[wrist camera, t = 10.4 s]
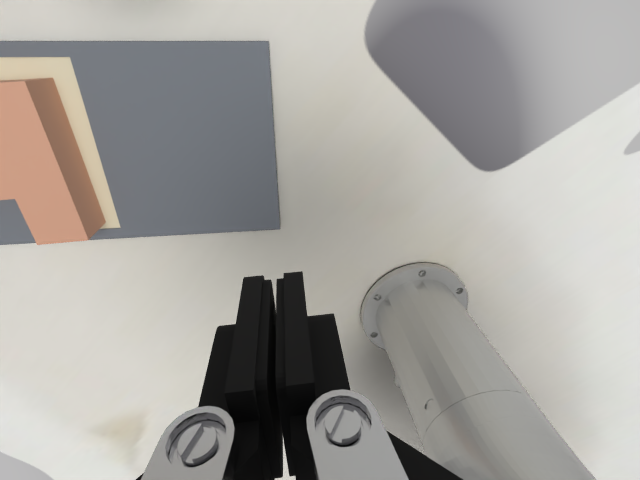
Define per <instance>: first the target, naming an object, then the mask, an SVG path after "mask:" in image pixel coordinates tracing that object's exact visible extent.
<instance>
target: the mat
mask: <svg viewBox="0 0 640 480" xmlns="http://www.w3.org/2000/svg"><path fill="white" fill-rule="evenodd" d="M37 78H53V79H54V82H55V85H56V87H57V90H58V93H59V95H60V98H61V101H62V104H63V106H64V109H65V112H66V115H67V117H68V120H69V123H70V125H71V128H72V131H73V134H74V136H75V139H76V142H77V145H78V147H79V150H80V153H81V155H82V158H83V161H84V164H85V166H86V169H87V172H88V175H89V177H90V180H91V183H92V185H93V188H94V191H95V194H96V196H97V199H98V202H99V205H100V207H101V210H102V213H103V215H104V218H105V221H106V223H105V224H104V225H103V226H102V227H101V228H100V229H99V230H98V231H97V232H96V233H95V234H94V235H93V236H92V237H91V238H90V239H89V240H96V239H114V238H132V237H150V236H168V235H186V234H204V233H222V232H240V231H258V230H276V229H280V220H279V204H278V188H277V172H276V156H275V140H274V124H273V108H272V91H271V75H270V59H269V43H268V41H0V80H19V79H37ZM25 243H36V241H35V239H34V237H33V235H32V233H31V231H30V229H29V227H28V225H27V223H26V221H25V219H24V217H23V214H22V212H21V210H20V208H19V206H18V204H17V202H16V200H15V199H8V200H0V245H7V244H25Z"/></svg>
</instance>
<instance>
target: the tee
mask: <svg viewBox="0 0 640 480" xmlns="http://www.w3.org/2000/svg"><path fill="white" fill-rule="evenodd" d="M8 199H15V200H16V202H17V204H18V206H19V208H20V210H21V212H22V214H23V217H24V219H25V221H26V223H27V225H28V227H29V229H30V231H31V233H32V235H33V237H34V239H35V241H36V243H37V245H41V244H52V243H63V242H73V241H84V240H89V239H90V238H91V237H92V236H93V235H94V234H95V233H96V232H97V231H98V230H99V229H100V228H101V227H102V226H103V225H104V224H105V223H106V221H105V218H104V215H103V213H102V210H101V207H100V205H99V202H98V199H97V196H96V194H95V191H94V188H93V185H92V183H91V180H90V177H89V175H88V172H87V169H86V166H85V164H84V161H83V158H82V155H81V153H80V150H79V147H78V145H77V142H76V139H75V136H74V134H73V131H72V128H71V125H70V123H69V120H68V117H67V115H66V112H65V109H64V106H63V104H62V101H61V98H60V95H59V93H58V90H57V87H56V85H55V82H54V79H53V78H37V79H19V80H0V200H8Z"/></svg>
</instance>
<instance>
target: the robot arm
mask: <svg viewBox="0 0 640 480" xmlns="http://www.w3.org/2000/svg"><path fill="white" fill-rule="evenodd" d="M467 306H468V294H467V290H466V288H465V285H464V284H463V283H462V281H461V280H460V278H459V277H458V276H457V275H456V274H455V273H454V272H453V271H451V270H449V269H448V268H446V267H443V266H441V265H438V264H432V263H416V264H411V265H406V266H403V267H401V268H398V269H396V270H394V271H392V272H390V273H388V274H386V275H385V276H384V277H382V278H381V279H380V280H379V281H377V283H376V284H375V285H374V286H373V287H372V288H371V289H370V291H369V292H368V294H367V295H366V297H365V299H364V302H363V304H362V309H361V322H362V325H363V328H364V331H365V333H366V335H367V337H368V338H369V339H370V340H371V342H373V343H374V344H375V345H377V346H378V347H380V348H382V349H384V350H386V351H387V354H388V356H389V359H390V361H391V364H392V367H393V369H394V372H395V377H394V383H395V385H396V386H397V387H399V388H401V390H402V393H403V395H404V398H405V401H406V403H407V406H408V408H409V411H410V414H411V416H412V419H413V421H414V424H415V427H416V429H417V432H418V434H419V437H420V440H421V442H422V445H423V447H424V451H425V453H426V456H425V455H424V454H422V453H421V452H419V451H418V450H416V449H414V448H413V447H411V446H410V445H408V444H407V443H405V442H403V441H402V440H400V439H399V438H397V437H396V436H394V435H392V434H391V433H389V432H388V431H386V429H385V427H384V425H383V423H382V420H381V418H380V416H379V414H378V412H377V410H376V408H375V407H374V405H373V404H372V402H371V401H370V400H368V399H367V398H366V397H365V396H364V395H362V394H360V393H357V392H355V391H351V390H350V386H349V382H348V377H347V372H346V368H345V363H344V358H343V354H342V349H341V344H340V340H339V335H338V331H337V326H336V321H335V317H334V314H325V315H316V316H307V310H306V301H305V292H304V282H303V273H302V272H292V273H284V278H282V279H277V295H276V310H275V302H274V295H273V288H272V282H271V280H264V276H263V275H262V276H253V277H244V279H243V284H242V290H241V296H240V302H239V308H238V314H237V320H236V324H233V325H224V326H219V327H218V328H217V330H216V334H215V338H214V342H213V346H212V351H211V355H210V359H209V363H208V368H207V372H206V376H205V380H204V385H203V389H202V393H201V397H200V402H199V406H198V407H197V408H195V409H192V410H189V411H187V412H185V413H184V414H182V415H181V416H179V417H177V418H176V419H175V420H174V421H173V422H172V423H171V424H170V425H169V426H168V427H167V428H166V430H165V431H164V433H163V435H162V436H161V438H160V440H159V442H158V444H157V446H156V448H155V450H154V452H153V455H152V457H151V459H150V461H149V463H148V465H147V467H146V469H145V472H144V473H143V474H142V475H141V476H140V477H138V478H137V479H136V480H274V478H281V477H283V438H284V444H285V451H286V457H287V463H288V469H289V475H290V476H296V480H596V479H595V477H594V476H593V475H592V474H591V473H590V472H589V471H588V469H587V468H586V467H585V466H584V465H583V463H582V462H581V461H580V460H579V458H578V457H577V456H576V455H575V453H574V452H573V451H572V450H571V448H570V447H569V446H568V444H567V443H566V442H565V441H564V439H563V438H562V437H561V436H560V434H559V433H558V432H557V431H556V429H555V428H554V427H553V426H552V424H551V423H550V422H549V420H548V419H547V418H546V416H545V415H544V414H543V412H542V411H541V410H540V408H539V407H538V406H537V404H536V403H535V402H534V400H533V399H532V398H531V396H530V395H529V394H528V392H527V391H526V390H525V388H524V387H523V386H522V384H521V383H520V382H519V380H518V379H517V378H516V376H515V375H514V374H513V372H512V371H511V370H510V368H509V367H508V366H507V364H506V363H505V362H504V360H503V359H502V358H501V356H500V355H499V354H498V352H497V351H496V350H495V348H494V347H493V346H492V344H491V343H490V342H489V340H488V339H487V338H486V336H485V335H484V334H483V332H482V331H481V330H480V328H479V327H478V326H477V324H476V323H475V322H474V320H473V319H472V318H471V316H470V315H469V314H468V312H467Z"/></svg>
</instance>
